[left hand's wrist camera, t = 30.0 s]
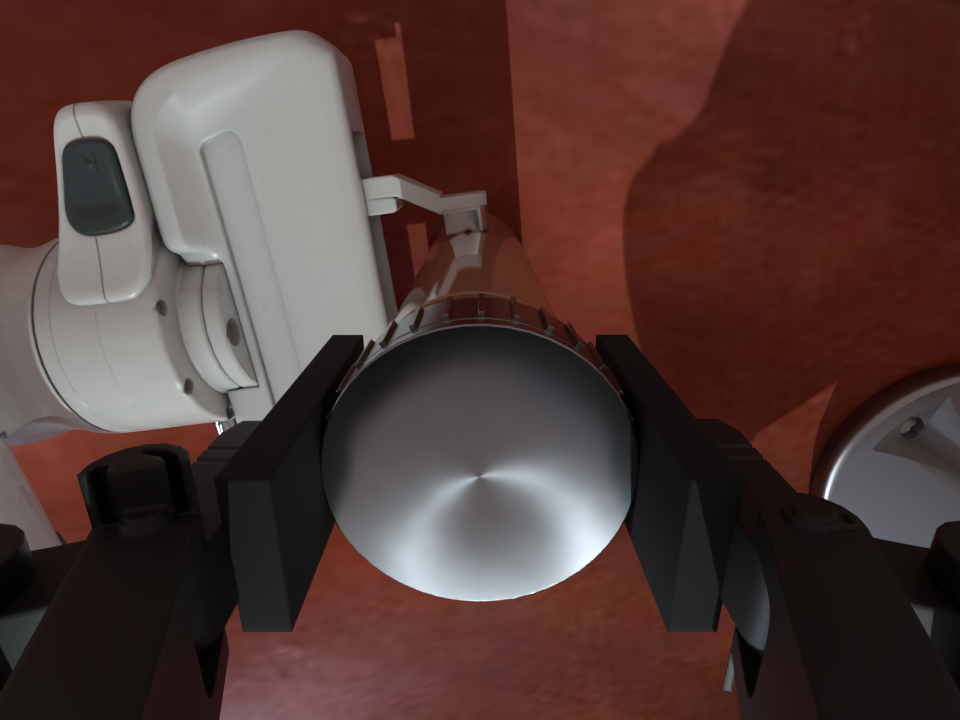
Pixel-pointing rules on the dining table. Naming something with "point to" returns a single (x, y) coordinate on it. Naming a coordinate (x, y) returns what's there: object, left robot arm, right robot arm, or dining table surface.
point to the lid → (479, 451)
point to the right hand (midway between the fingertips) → (497, 284)
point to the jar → (475, 270)
